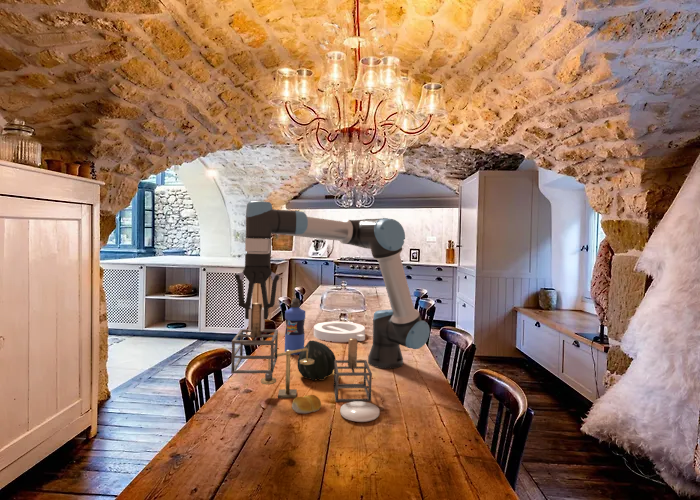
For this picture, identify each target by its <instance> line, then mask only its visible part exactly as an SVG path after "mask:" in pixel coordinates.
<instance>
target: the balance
mask: <svg viewBox="0 0 700 500" xmlns="http://www.w3.org/2000/svg"><path fill="white" fill-rule="evenodd" d="M302 351H307V353H306V359H301V360H300V364H302V365H311V364H314V360H313V359H308V349H307V348H303V349H298V350H294V351H290V350H287V351H286V352H285V351H283V352H280V353H277V358H278V357H283V356H285V389H283V388H282V389H281V388H280V389H278V392H277V399H295V398H296V397H297V393H298V392H297V388H296V389H295V388H294V389H293V388H292V389H291V387H290V385H291V356H292V355H291V354H293V353H297V352H302ZM268 356H271V354H270V355H268ZM274 356H275V353H274ZM267 360H268V363H267V364H268V365H267V366H268V367H267V370H270V361H271V359H267ZM260 382H261V384H263V385H273V384H276V383H277V378H275V377H273V373H264V377H263V378H262V379H261V380H260Z"/></svg>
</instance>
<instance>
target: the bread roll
mask: <svg viewBox="0 0 700 500" xmlns="http://www.w3.org/2000/svg"><path fill="white" fill-rule="evenodd" d="M321 406H322V402H321V399H320V398H319V397H318V396H316V395H315V394H309V395H308V394H307V395H304V396H296V398H293V401H292V404H291V409H292V410H293V411H294V412H295V413H297V414H304V415H305V414H310V413H312V412H313V413H315V412H317V411H320V409H321Z"/></svg>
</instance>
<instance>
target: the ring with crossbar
mask: <svg viewBox="0 0 700 500" xmlns="http://www.w3.org/2000/svg"><path fill="white" fill-rule="evenodd" d="M313 337H314V338H316V339H317V340H320V339H321V341H324V340H325V342H330V341H332V343H349V338H356V339H357V342H363V341H365V340H366V328H365V326H364V325H362V324H360V323H355V322H351V321H323V322H320V323H316V324H314V325H313Z"/></svg>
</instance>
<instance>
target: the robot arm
mask: <svg viewBox="0 0 700 500" xmlns="http://www.w3.org/2000/svg"><path fill="white" fill-rule="evenodd" d="M272 235H281V236H292V237H300V238H301V237H302V238H311V239H321V240H329V241H339V242H340V243H341V244H343V245H350V246H354V247H358V248H362V249H363V248H364V249H368V250H369V249H370V251H371V255H372V258H373V259H375V260H377V262H378V265H379V269H380V272H381V275H382V278H383V282H384V285H385V290H386V294H387V297H388V300H389V304H390V308H391V309H380V310H379V309H378V310H376V311H375V312H374V313H373V319H372V345H371V349H370V351H369V354H368V358H367V363H368V365H370V366H371V367H375V368H381V369H396V368H397V369H398V368H401V367H402V366H403V365H404V357H403V354H402V353H403V352H402V350H401V347H400V346H403V347H405V348H408V349H413V350H419V349H422V348H423V346H425V344H427V342H428V339H429V337H430V334H431V333H430V329H431V328H430V325H429V324H428V322H426V320H422V318H421V315H420V314H421V313H420V312H419V310H418V309H415V306H414V302H413V299H412V296H411V293H410V292H411V291H410V287H409V285H408V280H407V278H406V277H407V276H406V273H405V269H404V265H403V261H402V258H401V253H402V252H403V246H404V245H405V244H404V243H405V240H406V232H405V229H404V226H403V225H402V224H401V223H400V222H399V221H398V220H396V219H393V218H388V217H387V218H386V217H383V218H364V219H343V220H341V221H340V220H334V219H326V218H320V217H313V216H312V217H311V216H308V215H307V214H306V213H305V212H304V211H299V210H288V209H287V210H286V209H276V208H275V209H274V208H273V204H272V202H270V201H262V200H251V201H249V202H248V203H246V210H245V242H244V243H245V244H244V245H245V250H244V251H245V252H247V253H245V254H244V268H243V271H242V272H240V273H236V274H235V275H234V279H235V280H236V284H237V297H238V299H237V300H238V307H240V308H241V307H242V308H244V318H245V320H248V326H247V327H248V331H251V323H252V298H253V292H254V287H255V284H259V285H260V289H261V290H260V291H261V299H262V309H261V331H263V330H265V323H266V321H265V320H268V318H269V309H271V308H273V307H274V306H275V305H276V304H275V303H276V302H275V301H276V294H277V285H278V281H279V279H280V274H277V273H275V272H273V270H272V268H271V267H272V266H271V262H272V261H271V259H272V258H271V257H272V256H271V254H270V253H271V251H272V250H271V249H272ZM244 277H245V278H246V280H247V281H248V288H247V293H246V299H245V295H244V293H245V292H244V291H245V290H244V281H243V280H244ZM270 277H271V281H272V283H271V289H270V290H271V292H270V298H269V299H270V300H269V299H268V297H269V296H268V290H267V280H269V278H270ZM269 301H270V302H269Z"/></svg>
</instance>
